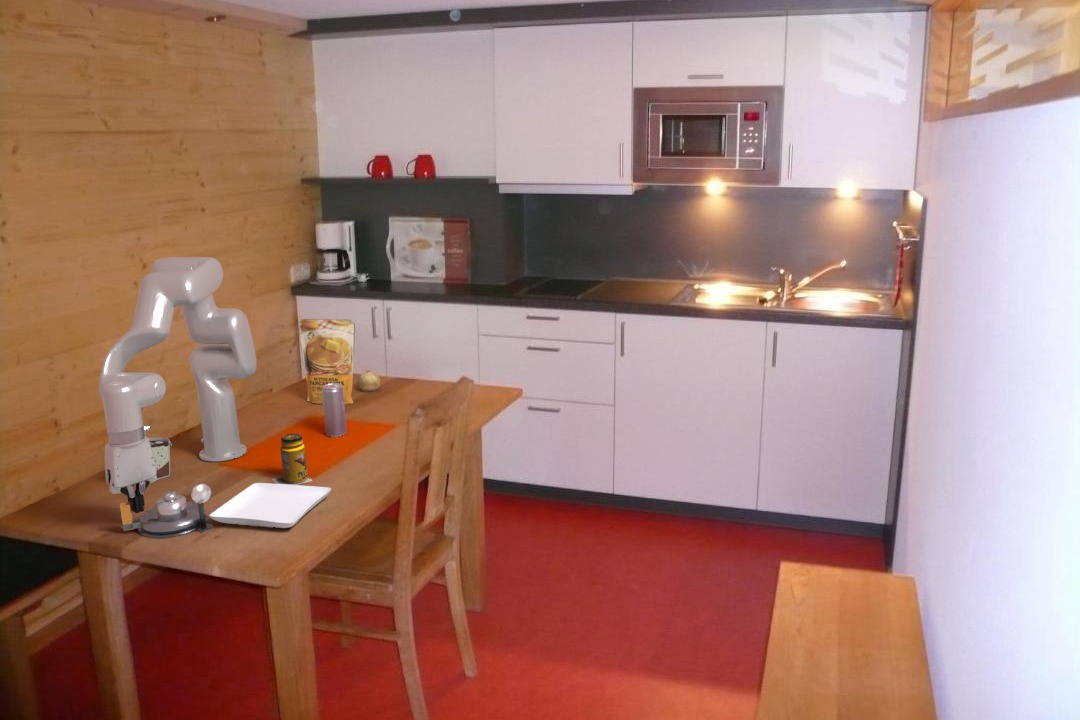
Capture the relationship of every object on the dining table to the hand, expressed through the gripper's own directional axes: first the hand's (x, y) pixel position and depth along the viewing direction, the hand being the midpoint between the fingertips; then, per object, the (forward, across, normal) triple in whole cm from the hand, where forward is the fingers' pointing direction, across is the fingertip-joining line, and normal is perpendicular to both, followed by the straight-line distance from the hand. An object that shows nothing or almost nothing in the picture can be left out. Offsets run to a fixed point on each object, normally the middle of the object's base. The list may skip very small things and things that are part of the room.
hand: (137, 510), depth 211 cm
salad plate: (+4, -23, +19) cm, 30 cm away
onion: (+4, -105, -46) cm, 115 cm away
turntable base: (+4, -5, +6) cm, 9 cm away
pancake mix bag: (+4, -88, -45) cm, 99 cm away
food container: (+4, -16, -28) cm, 32 cm away
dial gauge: (+4, -8, +14) cm, 17 cm away
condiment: (+4, -38, +5) cm, 39 cm away
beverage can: (+4, -68, -16) cm, 70 cm away
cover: (+1, -4, +8) cm, 9 cm away
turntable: (+3, -3, +5) cm, 7 cm away
